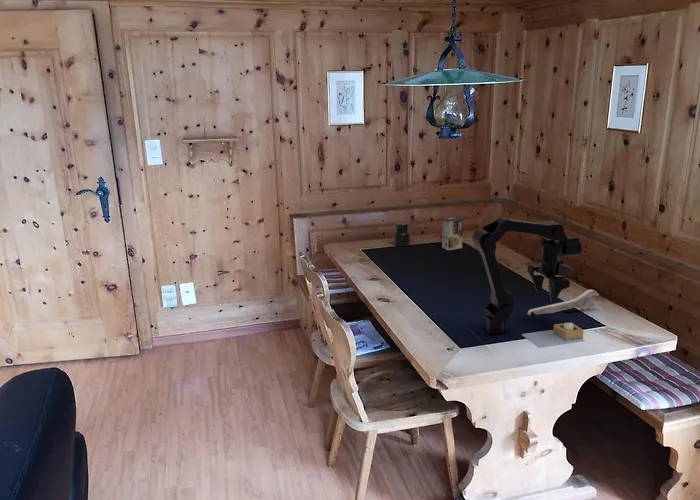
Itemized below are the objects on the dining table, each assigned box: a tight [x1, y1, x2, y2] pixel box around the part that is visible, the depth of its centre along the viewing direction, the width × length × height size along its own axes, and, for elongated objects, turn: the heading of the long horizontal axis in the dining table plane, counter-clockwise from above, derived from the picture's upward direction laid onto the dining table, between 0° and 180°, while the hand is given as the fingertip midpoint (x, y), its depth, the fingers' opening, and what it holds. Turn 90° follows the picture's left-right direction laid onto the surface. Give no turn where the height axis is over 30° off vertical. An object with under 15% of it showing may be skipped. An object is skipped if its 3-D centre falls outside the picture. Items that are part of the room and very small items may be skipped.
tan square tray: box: [552, 321, 584, 341], centre depth 199 cm, size 7×7×3 cm
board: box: [521, 322, 586, 349], centre depth 198 cm, size 18×11×5 cm, turn 105°
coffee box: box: [441, 216, 464, 251], centre depth 304 cm, size 9×6×16 cm
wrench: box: [527, 289, 600, 316], centre depth 220 cm, size 8×2×30 cm
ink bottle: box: [393, 221, 411, 247], centre depth 313 cm, size 10×9×12 cm
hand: (545, 298), depth 205 cm, fingers open, 9 cm apart
